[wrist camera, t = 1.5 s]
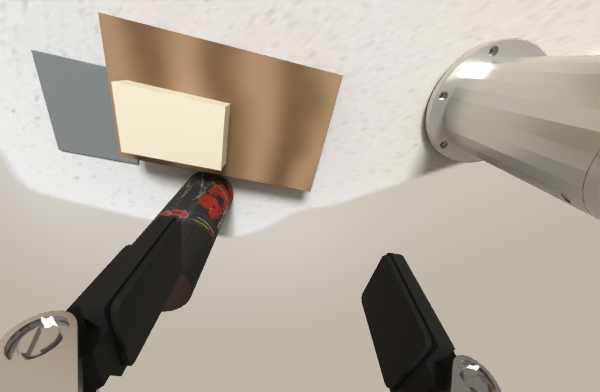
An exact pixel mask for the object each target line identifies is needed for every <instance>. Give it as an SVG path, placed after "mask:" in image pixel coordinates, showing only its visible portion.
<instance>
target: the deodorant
mask: <svg viewBox="0 0 600 392" xmlns="http://www.w3.org/2000/svg"><path fill="white" fill-rule="evenodd" d="M232 199H233V189H232V187H231V185H230V183H229V182H228V181H227V180H226V179H225V178H224V177H223V176H221V175H218V174H212V173H207V172H198V173H196V174H194V175H193V176H192V177H191V178H190V179H189V180H188V181H187V182H186V183H185V184H184V186H183V187H182V188H181V189H180V190H179V191H178V193H177V194H176V195H175V196H174V197H173V198H172V199H171V201H170V202H169V203H168V204H167V205H166V206H165V207H164V209H163V210H162V211H161V212H160V213H159V214H158V215H157V217H158V216H159V215H166V216H172V217H176V218H177V221H180V222H181V244H182V271H181V275H180V277H179V279H178V281H177V283H176V285H175V287H174V289H173V291H172V293H171V294H170V296H169V298H168V300H167V302H166V304H165V306H164V308H163V310H162V311H163V312H165V311H172V310H175V309H178V308H180V307H182V306H183V305H185V304H186V303H187V302H188V301H189V299H190V298H191V295H192V293H193V291H194V288H195V286H196V284H197V281H198V279H199V277H200V274H201V272H202V270H203V267H204V265H205V263H206V260H207V258H208V256H209V253H210V251H211V249H212V246H213V244H214V242H215V239H216V237H217V235H218V232H219V230H220V228H221V225H222V223H223V221H224V218H225V216H226V214H227V211H228V209H229V207H230V204H231V202H232ZM157 217H156V218H157ZM156 218H155V219H156ZM155 219H154V220H155ZM154 220H153V221H154ZM153 221H152V222H151V223H150V225H151V224H152V223H153ZM150 225H149V226H150ZM149 226H148V227H149ZM148 227H147V228H148ZM147 228H146V229H147ZM146 229H145V230H144V231H143V233H144V232H145V231H146ZM143 233H142V234H143ZM142 234H141V235H142ZM141 235H140V236H141ZM140 236H139V237H140ZM139 237H138V238H137V239H136V241H137V240H138V239H139ZM136 241H135V242H136ZM135 242H134V243H135ZM134 243H133V244H134ZM133 244H132V245H133ZM162 311H161V312H162Z"/></svg>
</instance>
